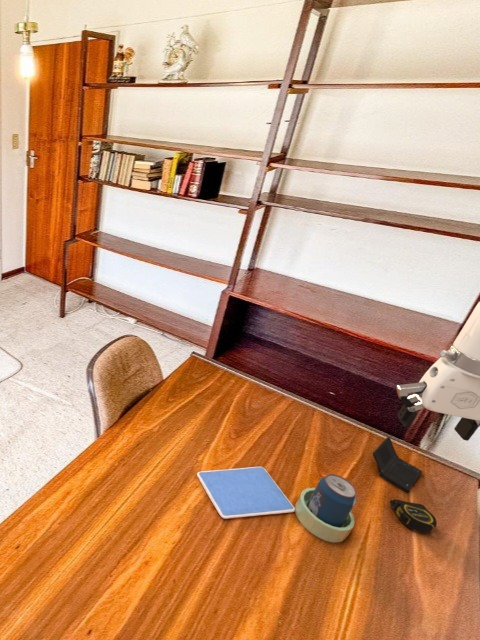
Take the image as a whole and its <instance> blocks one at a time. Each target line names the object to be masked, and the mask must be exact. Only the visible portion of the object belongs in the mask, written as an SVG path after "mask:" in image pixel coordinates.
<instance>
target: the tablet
mask: <svg viewBox="0 0 480 640" xmlns="http://www.w3.org/2000/svg"><path fill="white" fill-rule="evenodd" d="M196 476H197V479H198V480H199V482H200V483H201V486H202V487H203V489H204V491H205V493H206V494H207V496H208V498H209V499H210V501H211V503H212V505H213V506H214V508H215V510H216V511H217V513H218V514H219V516H220V518H222V519H223V520H227V519H235V518H236V519H237V518H244V517H245V518H246V517H255V516H265V515H278V514H287V513H294V512H295V505H293V504H292V502H291V501H290V500H289V499H288V497H287V496H286V495H285V494H284V492H283V491H282V489H281V488H280V487H279V485H278V484H277V482H275V481H276V480H274V478H273V477H272V476H271V475H270V474H269V472H268V471H267V470H266V468H264V467H263V466H250V467H240V468H239V467H238V468H228V469H227V468H226V469H217V470H216V469H214V470H205V471H198V472H197V473H196Z"/></svg>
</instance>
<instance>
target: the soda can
mask: <svg viewBox="0 0 480 640" xmlns="http://www.w3.org/2000/svg"><path fill="white" fill-rule="evenodd" d="M315 488H316V489H315V490H314V492H313V494H312V496H311V498H310V500H309V501H308V503H307V505H306V506H307V507H308V509H309V510H310V511H311V513H313V514H314V515H315V516H316V517H317V518H318V519H320V520H321V521H323V522H324V523H327V524H329V525H331V526H334V527H339V528H340V527H341V526H342V524H343V522H344V521H345V519H346V518H347V516H348V514H349V513H350V511H351V512H352V510H353V508H354V506H355V505H356V503H357V500H358V498H357V489H356V487H355V485H354V484H353V483H352V482H351V481H349V480H348V479H346V478H345V477H343V476H341V475H339V474H335V473H328V474H326V475H325V476H323V477H321V478H320V479H319V481H318V483H317V485H316V487H315Z"/></svg>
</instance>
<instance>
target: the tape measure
mask: <svg viewBox="0 0 480 640" xmlns="http://www.w3.org/2000/svg"><path fill="white" fill-rule="evenodd" d="M389 504H390V508H391V510H392V511H393V512H395V514H396V517H397V519H398V520H399V521H400V522H401V523H402V524H404V525H405V526H406V527H407V528H409V529H411V530H413V531H415V532H418V533H421V534H430V533H432V532H433V531H434V530H435V528H436V526H437V524H438V521H437V519H436V517H435V515H434V514H433V513H432V512H431V511H430V510H428V508H427V507H426V506H425V505H424V504H421V503H417V502H411V501H405V500H401V499H395V498H393V499H390V500H389Z"/></svg>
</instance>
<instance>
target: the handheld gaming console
mask: <svg viewBox="0 0 480 640" xmlns="http://www.w3.org/2000/svg"><path fill="white" fill-rule="evenodd" d="M372 455H373V458H374V461H375V463H376V466H377V468H378V471H379V477H381V478H382V479H384V480H385V481H387V482H389V483H391V484H392V485H393V486H395V487H397V488H398V489H400V490H402V491H403V492H405V493H408V492H409V491H410V490H411V488H412V487H413V485H414V484H415V483H416V482H417V480H418V479H419V477H420V476H421V474H422V473H423V471H422V470H421V469H419V468H418V467H417V466H415V465H413V464H411V463H409V462H408V461H406V460H404V459H402V458H400V457H399V455H398V454H397V452H396V449H395V446H394V445H393V442H392V438H391V437H390V436H387V437H385V438H384V440H383V441H382V442H381V443H380V444H379V445H378V447H377V448H376V449H374V451H373V452H372Z"/></svg>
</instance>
